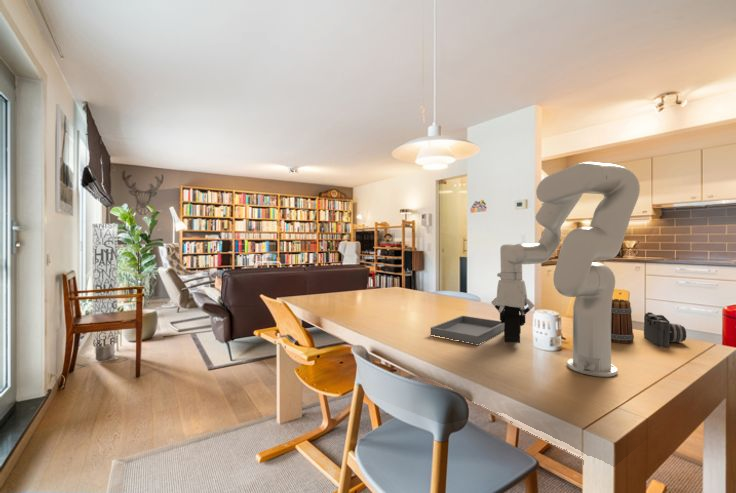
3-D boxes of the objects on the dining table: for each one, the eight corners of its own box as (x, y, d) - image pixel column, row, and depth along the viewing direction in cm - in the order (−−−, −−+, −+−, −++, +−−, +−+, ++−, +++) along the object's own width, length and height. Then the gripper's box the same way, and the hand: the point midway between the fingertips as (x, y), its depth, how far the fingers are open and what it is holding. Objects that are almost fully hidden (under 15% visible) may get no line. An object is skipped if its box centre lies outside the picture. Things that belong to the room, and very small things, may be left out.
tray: (478, 345, 125) (478, 336, 125) (430, 336, 138) (430, 327, 138) (506, 330, 146) (505, 322, 146) (462, 323, 159) (462, 315, 159)
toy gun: (521, 355, 132) (520, 325, 139) (519, 337, 119) (519, 305, 126) (507, 354, 134) (507, 324, 141) (504, 336, 121) (504, 304, 128)
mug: (622, 336, 135) (622, 298, 135) (640, 344, 125) (640, 303, 124) (580, 335, 137) (580, 298, 137) (595, 343, 126) (595, 302, 126)
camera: (695, 349, 118) (695, 321, 118) (656, 346, 122) (656, 319, 121) (674, 338, 131) (674, 312, 131) (640, 336, 135) (640, 311, 135)
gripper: (485, 276, 133) (486, 322, 133) (532, 278, 121) (533, 329, 121) (492, 275, 139) (493, 319, 139) (538, 276, 127) (539, 325, 127)
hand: (512, 323), depth 130 cm, fingers closed on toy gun, 6 cm apart
